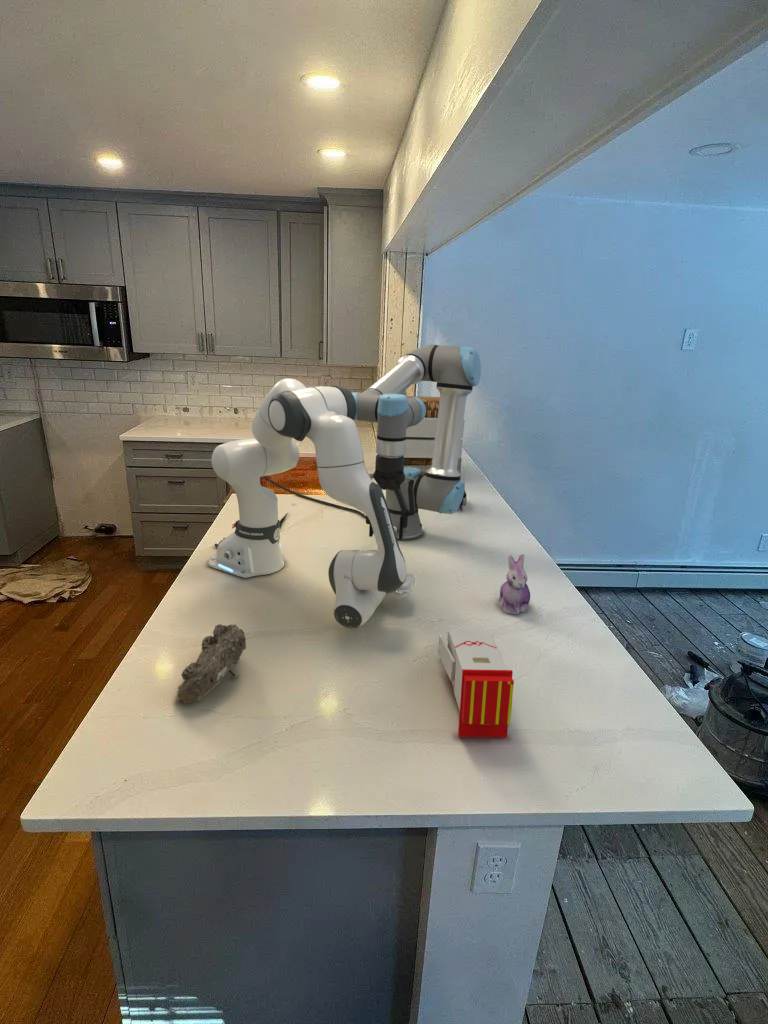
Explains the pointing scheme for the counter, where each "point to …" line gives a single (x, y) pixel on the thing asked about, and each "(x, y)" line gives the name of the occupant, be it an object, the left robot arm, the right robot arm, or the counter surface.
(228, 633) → the fossil
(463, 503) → the figurine character
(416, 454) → the grey boxy container
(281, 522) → the feather
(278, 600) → the counter surface
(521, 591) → the figurine
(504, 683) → the toy
